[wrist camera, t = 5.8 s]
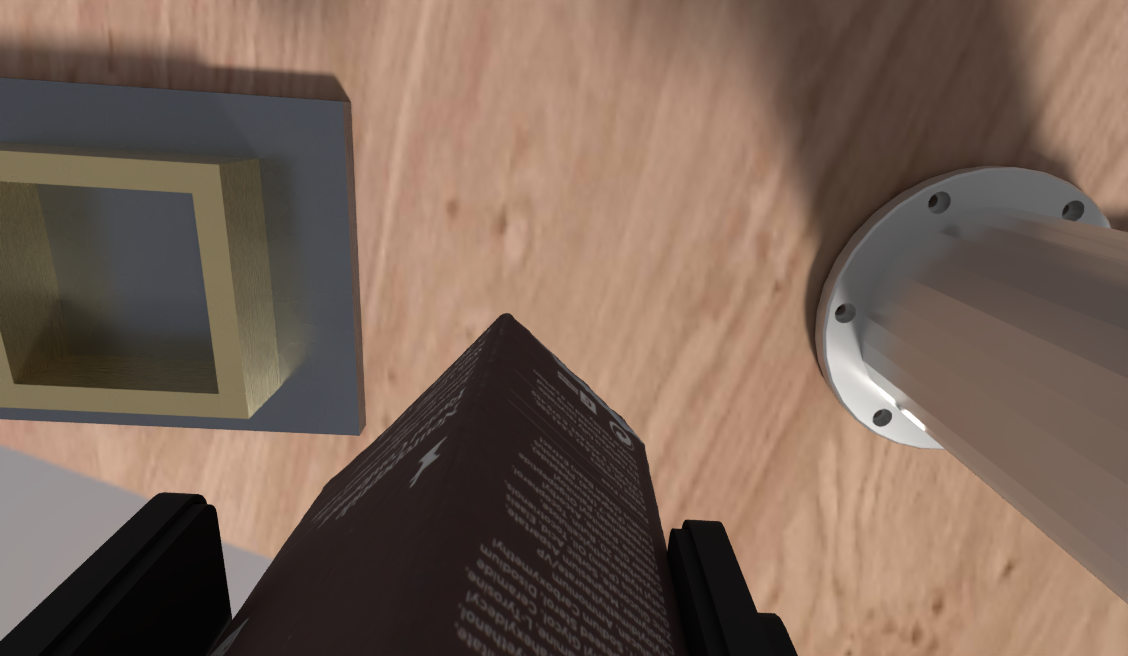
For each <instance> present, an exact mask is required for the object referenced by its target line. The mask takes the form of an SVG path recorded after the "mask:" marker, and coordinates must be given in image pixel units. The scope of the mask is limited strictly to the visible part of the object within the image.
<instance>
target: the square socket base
mask: <svg viewBox="0 0 1128 656" xmlns="http://www.w3.org/2000/svg"><path fill="white" fill-rule="evenodd" d="M0 419H9V420H31V421H52V422H74V423H96V424H118V425H139V426H161V427H183V428H204V429H226V430H248V431H270V432H291V433H313V434H335V435H357V436H360V434H361V432H362V431H363V429H364V427H365V426H366V416H365V394H364V373H363V351H362V330H361V308H360V287H359V266H358V244H357V223H356V201H355V180H354V158H353V137H352V116H351V102H345V101H331V100H316V99H302V98H287V97H273V96H258V95H244V94H230V93H215V92H201V91H186V90H172V89H158V88H143V87H129V86H114V85H100V84H86V83H71V82H57V81H42V80H28V79H13V78H0Z"/></svg>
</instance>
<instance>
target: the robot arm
mask: <svg viewBox="0 0 1128 656" xmlns="http://www.w3.org/2000/svg"><path fill="white" fill-rule="evenodd" d="M930 198H931V202H930V203H929V204H928V202H929V200H930ZM840 305H841V308H840V310H838V311H837V312H835V311H836V310H837V308H838V307H839V306H840ZM815 342H816V349H817V356H818V363H819V365H820V368H821V371H822V373H823V376H824V378H825V381H826V384H827V385H828V387H829V388H830V390H831V391H832V393H833V394H834V396H835V397H836V399H837V400H838V402H839V403H840V404H841V405H842V406H843V407H844V408H845V409H846V410H847V411H848V412H849V413H850V414H851V415H852V416H853V417H854V419H855V420H857V421H858V422H859V423H861V424H862V425H863V426H864V427H866V428H867V429H868V430H870V431H871V432H873V433H875V434H877V435H879V436H881V437H883V438H886V439H888V440H890V441H892V442H894V443H898V444H902V445H906V446H911V447H915V448H919V449H940V450H947V451H948V452H949V453H950V454H952V455H953V456H954V457H955V458H956V459H957V460H959V461H960V462H961V463H962V464H963V465H965V466H966V467H967V468H968V469H969V470H970V471H972V472H973V473H974V474H975V475H976V476H977V477H979V478H980V479H981V480H982V481H983V482H985V483H986V484H987V485H988V486H989V487H990V488H992V489H993V490H994V491H995V492H996V493H997V494H999V495H1000V496H1001V497H1002V498H1003V499H1005V500H1006V501H1007V502H1008V503H1009V504H1010V505H1012V506H1013V507H1014V508H1015V509H1016V510H1017V511H1019V512H1020V513H1021V514H1022V515H1023V516H1025V517H1026V518H1027V519H1028V520H1029V521H1030V522H1032V523H1033V524H1034V525H1035V526H1036V527H1037V528H1039V529H1040V530H1041V531H1042V532H1043V533H1045V534H1046V535H1047V536H1048V537H1049V538H1050V539H1052V540H1053V541H1054V542H1055V543H1056V544H1057V545H1059V546H1060V547H1061V548H1062V549H1063V550H1065V551H1066V552H1067V553H1068V554H1069V555H1070V556H1072V557H1073V558H1074V559H1075V560H1076V561H1077V562H1079V563H1080V564H1081V565H1082V566H1083V567H1085V568H1086V569H1087V570H1088V571H1089V572H1090V573H1092V574H1093V575H1094V576H1095V577H1096V578H1097V579H1099V580H1100V581H1101V582H1102V583H1103V584H1105V585H1106V586H1107V587H1108V588H1109V589H1110V590H1112V591H1113V592H1114V593H1115V594H1116V595H1117V596H1119V597H1120V598H1121V599H1122V600H1123V601H1125V602H1126V603H1127V604H1128V232H1125V231H1120V230H1115V229H1112V228H1111V225H1110V223H1109V221H1108V219H1107V217H1106V216H1105V215H1104V214H1103V212H1102V211H1101V210H1100V209H1099V207H1098V206H1097V205H1096V204H1095V202H1094V201H1093V200H1092V199H1091V198H1090V197H1089V196H1087V195H1086V194H1085V193H1083V192H1082V191H1081V190H1079V189H1078V188H1077V187H1075V186H1074V185H1073V184H1071V183H1070V182H1067V181H1065V180H1063V179H1060V178H1058V177H1055V176H1053V175H1051V174H1048V173H1046V172H1041V171H1036V170H1030V169H1024V168H1018V167H1006V166H991V165H987V166H979V167H971V168H963V169H957V170H954V171H951V172H948V173H945V174H941V175H938V176H935V177H932V178H929V179H927V180H925V181H923V182H921V183H919V184H917V185H915V186H913V187H911V188H909V189H908V190H906V191H904V192H902V193H900V194H899V195H897V196H896V197H895V198H893V199H892V200H891V201H889V202H888V203H887V204H885V205H884V206H883V207H881V208H880V209H879V210H877V211H876V212H875V213H874V214H873V215H872V216H871V217H870V218H869V219H868V220H867V221H866V222H865V223H864V224H863V225H862V226H861V227H860V228H859V229H858V230H857V231H856V232H855V233H854V234H853V236H852V237H851V238H850V240H849V241H848V243H847V244H846V246H845V247H844V249H843V250H842V251H841V253H840V254H839V256H838V257H837V259H836V260H835V262H834V265H833V267H832V269H831V271H830V273H829V275H828V277H827V280H826V282H825V284H824V286H823V290H822V294H821V297H820V301H819V305H818V309H817V313H816V329H815ZM667 558H668V562H669V567H670V571H671V575H672V579H673V584H674V588H675V591H676V595H677V601H678V606H679V610H680V614H681V619H682V624H683V629H684V634H685V638H686V644H687V648H688V652H689V655H690V656H798V655H797V653H796V650H795V648H794V646H793V644H792V641H791V639H790V637H789V634H788V632H787V630H786V628H785V626H784V624H783V622H782V620H781V618H780V617H779V616H777V615H776V614H775V613H758V612H757V610H756V607H755V605H754V602H753V600H752V597H751V594H750V592H749V589H748V587H747V584H746V582H745V579H744V577H743V574H742V572H741V569H740V566H739V564H738V561H737V559H736V556H735V554H734V551H733V549H732V546H731V544H730V541H729V538H728V536H727V533H726V531H725V528H724V526H723V524H722V523H721V522H719V521H703V520H685V521H684V522H683V525H682V529H674V528H673V529H671V532H670V536H669V543H668V550H667ZM231 621H232V614H231V607H230V600H229V593H228V586H227V580H226V572H225V566H224V559H223V552H222V545H221V538H220V531H219V524H218V517H217V512H216V508H215V507H214V506H213V505H210V504H207V502H206V499H205V498H204V497H203V496H202V495H199V494H185V493H166V492H163V493H159V494H157V495H156V496H154V497H153V498H152V499H151V500H150V501H149V502H148V503H147V504H145V505H144V506H143V507H142V508H141V509H140V510H139V511H138V512H137V513H136V514H135V515H134V516H133V517H132V518H131V519H130V520H128V521H127V522H126V523H125V524H124V525H123V526H122V527H121V528H120V529H119V530H118V531H117V532H116V533H115V534H114V535H113V536H112V537H110V538H109V539H108V540H107V541H106V542H105V543H104V544H103V545H102V546H101V547H100V548H99V549H98V550H97V551H96V552H95V553H93V555H91V556H90V557H89V558H88V559H87V560H86V561H85V562H84V563H83V564H82V565H81V566H80V567H79V568H78V569H76V570H75V571H74V572H73V573H72V574H71V575H70V576H69V577H68V578H67V579H66V580H65V581H64V582H63V583H62V584H61V585H59V586H58V587H57V588H56V589H55V590H54V591H53V592H52V593H51V594H50V595H49V596H48V597H47V598H46V599H45V600H44V601H42V603H40V604H39V605H38V606H37V607H36V608H35V609H34V610H33V611H32V612H31V613H30V614H29V615H28V616H27V617H26V618H25V619H23V620H22V621H21V622H20V623H19V624H18V625H17V626H16V627H15V628H14V629H13V630H12V631H11V632H10V633H9V634H7V635H6V636H5V637H4V638H3V639H2V640H1V641H0V656H208V655H209V653H210V652H211V650H212V649H213V647H214V645H215V644H216V643H217V641H218V640H219V638H220V637H221V635H222V634H223V633H224V631H225V630H226V628H227V627H228V625H229V624H230V623H231Z"/></svg>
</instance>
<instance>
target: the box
mask: <svg viewBox="0 0 1128 656" xmlns="http://www.w3.org/2000/svg"><path fill="white" fill-rule="evenodd" d="M208 656H690V655H689V652H688V648H687V644H686V638H685V634H684V629H683V624H682V619H681V614H680V610H679V606H678V601H677V595H676V591H675V588H674V584H673V579H672V575H671V571H670V567H669V562H668V558H667V548H666V543H665V538H664V535H663V530H662V526H661V521H660V517H659V511H658V506H657V503H656V498H655V493H654V489H653V485H652V481H651V476H650V472H649V464H648V461H647V456H646V451H645V444H644V443H643V442H642V441H641V440H640V438H639V437H638V436H637V435H636V434H635V433H634V431H633V430H632V429H631V428H630V427H629V426H628V425H627V423H626V422H625V420H624V419H623V418H622V417H621V416H620V415H618V414H617V413H616V412H615V411H613V410H612V409H610V408H609V407H608V406H607V404H606V403H605V402H604V401H603V400H602V399H601V398H599V397H598V396H597V395H596V394H595V393H594V392H593V391H592V390H591V389H590V387H589V386H588V385H587V384H586V383H585V382H584V381H583V380H581V379H580V378H579V377H577V376H576V375H575V374H574V373H572V372H571V371H570V370H569V369H568V368H567V367H566V365H564V364H563V363H562V362H561V361H560V360H559V359H558V358H557V357H556V356H555V355H554V354H553V353H552V352H550V351H549V350H548V349H547V348H546V347H545V346H544V345H543V344H542V343H541V342H540V341H539V340H538V339H536V338H535V337H534V336H533V335H532V334H531V333H530V331H529V330H528V329H526V328H525V327H524V326H523V325H521V324H520V323H519V322H518V321H517V320H515V319H514V317H513V316H512V315H511V314H509V313H505V314H502V315H500V316H499V317H498V318H497V319H496V320H495V321H494V322H493V324H492V325H491V326H490V327H489V328H488V329H487V330H486V331H485V332H484V333H483V334H482V335H481V336H480V337H479V338H478V339H477V340H476V341H475V342H474V343H473V344H472V345H471V346H470V347H469V348H468V349H467V350H466V351H465V352H464V353H463V354H462V355H461V356H460V357H459V358H458V359H457V360H456V361H455V362H454V363H453V364H452V365H451V366H450V367H449V368H448V369H447V370H446V371H445V372H444V373H443V374H442V375H441V376H440V377H439V378H438V379H437V380H436V381H435V382H434V383H433V384H432V385H431V386H430V387H429V388H428V389H427V390H426V391H425V392H424V393H423V394H422V395H421V396H420V397H419V398H418V399H417V400H416V401H415V402H414V403H413V404H412V405H411V406H410V407H409V408H408V409H407V410H406V411H405V412H404V413H403V414H402V415H401V416H400V417H399V418H398V419H397V420H396V421H395V422H394V423H393V424H392V425H391V426H390V427H389V428H388V429H387V430H386V431H384V432H383V433H382V434H381V435H380V436H379V437H378V438H377V439H376V440H375V441H374V442H373V443H372V444H371V445H370V446H369V447H367V448H366V449H365V450H364V451H363V452H361V453H360V454H359V455H358V456H357V457H356V458H355V459H354V460H353V461H352V462H351V463H350V464H349V465H347V466H346V467H345V468H344V469H343V470H342V471H341V472H339V473H338V474H337V475H336V476H334V477H333V478H332V479H331V480H330V481H329V482H328V483H327V484H326V485H325V486H324V487H323V490H322V492H321V493H320V494H319V496H318V497H317V498H316V500H315V501H314V503H313V504H312V505H311V507H310V509H309V510H308V511H307V513H306V514H305V515H304V517H303V518H302V520H301V522H300V523H299V524H298V526H297V527H296V528H295V530H294V531H293V532H292V534H291V535H290V537H289V538H288V539H287V541H286V542H285V544H284V545H283V546H282V548H281V549H280V551H279V553H278V554H277V556H276V557H275V559H274V560H273V561H272V563H271V564H270V566H269V567H268V569H267V570H266V572H265V573H264V574H263V576H262V578H261V579H260V581H259V582H258V583H257V585H256V586H255V588H254V589H253V591H252V592H251V594H250V595H249V597H248V599H247V600H246V601H245V603H244V604H243V606H242V607H241V609H240V610H239V612H238V613H237V614H236V616H235V617H234V618H233V620H232V621H231V623H230V624H229V625H228V627H227V628H226V630H225V631H224V633H223V634H222V635H221V637H220V638H219V640H218V641H217V643H216V644H215V645H214V647H213V649H212V650H211V652H210V653H209V655H208Z"/></svg>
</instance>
